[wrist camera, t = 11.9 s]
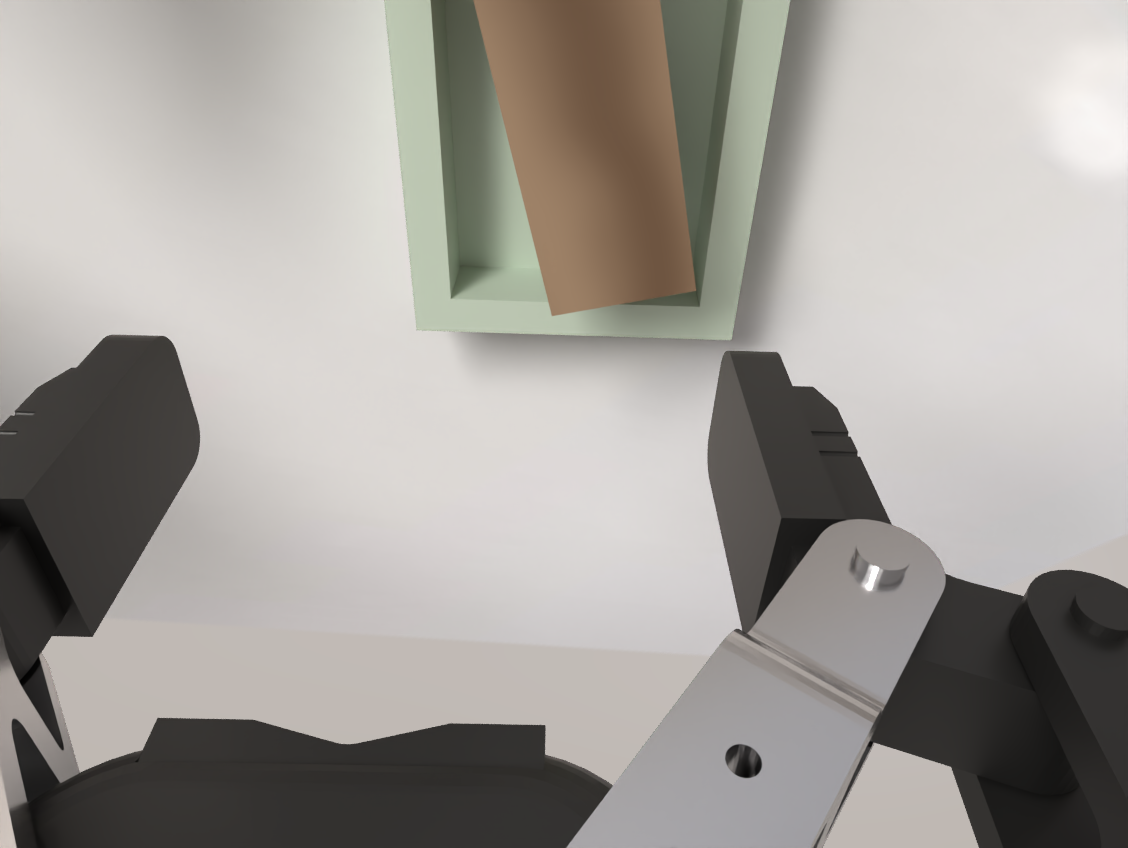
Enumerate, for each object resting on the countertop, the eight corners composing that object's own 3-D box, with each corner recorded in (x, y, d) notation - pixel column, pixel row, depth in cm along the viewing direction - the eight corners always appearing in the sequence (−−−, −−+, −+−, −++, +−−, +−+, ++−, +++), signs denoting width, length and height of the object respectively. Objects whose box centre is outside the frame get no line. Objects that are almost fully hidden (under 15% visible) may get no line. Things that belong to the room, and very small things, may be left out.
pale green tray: (430, 290, 36) (416, 330, 33) (370, -409, 23) (340, -441, 20) (720, 300, 36) (731, 340, 33) (829, -395, 23) (864, -426, 20)
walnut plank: (556, 254, 32) (551, 316, 28) (445, -220, 23) (416, -230, 19) (682, 230, 31) (696, 290, 27) (617, -268, 22) (623, -289, 18)
